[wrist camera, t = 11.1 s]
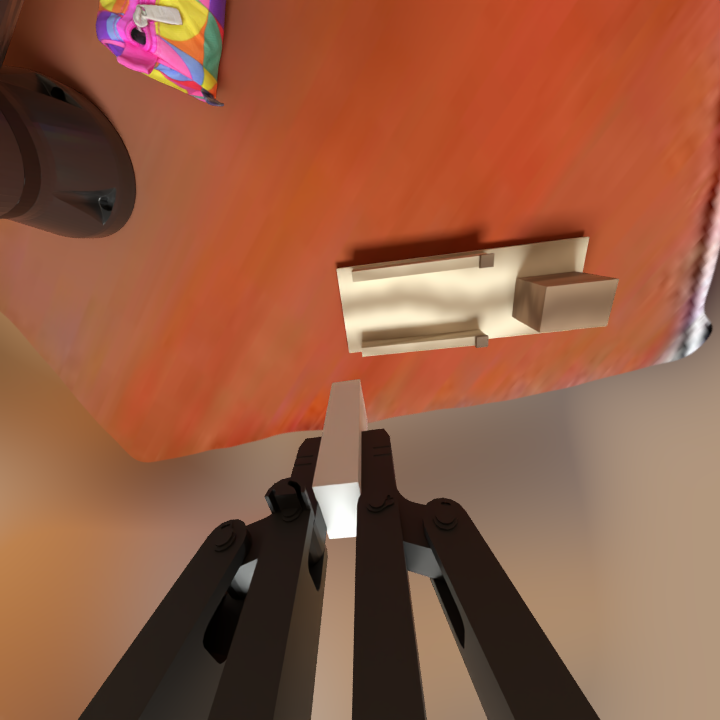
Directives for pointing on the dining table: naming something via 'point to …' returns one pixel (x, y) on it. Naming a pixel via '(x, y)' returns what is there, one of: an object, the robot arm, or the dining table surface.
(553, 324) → the walnut block
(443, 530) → the robot arm
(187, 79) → the pencil case
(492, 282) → the railed wooden board
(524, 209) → the dining table surface
